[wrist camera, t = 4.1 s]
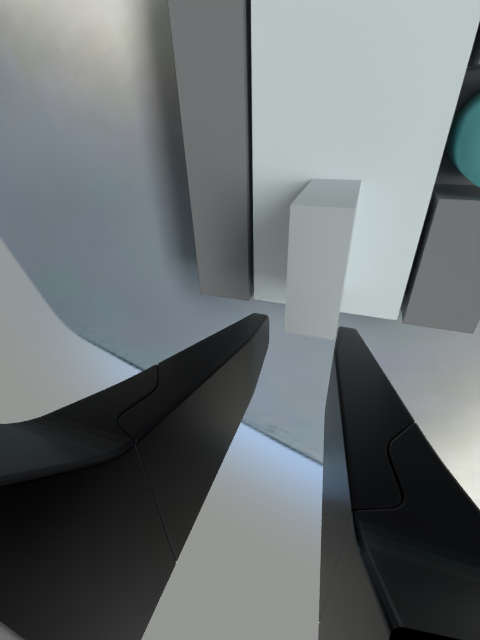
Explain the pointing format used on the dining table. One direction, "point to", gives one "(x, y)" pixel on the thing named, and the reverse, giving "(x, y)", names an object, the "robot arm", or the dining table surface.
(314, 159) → the white stepped block
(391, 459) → the robot arm
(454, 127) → the teal egg-shaped capsule
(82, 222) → the dining table surface
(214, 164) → the filter housing
